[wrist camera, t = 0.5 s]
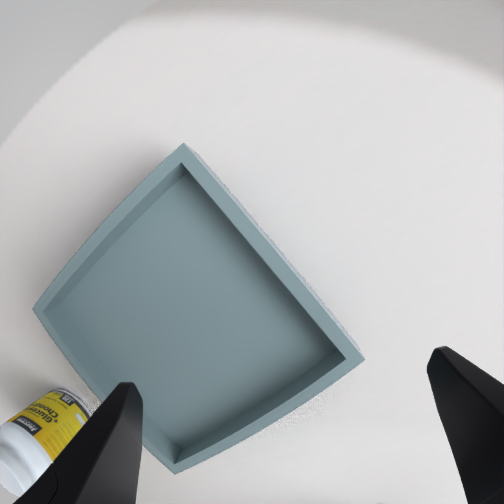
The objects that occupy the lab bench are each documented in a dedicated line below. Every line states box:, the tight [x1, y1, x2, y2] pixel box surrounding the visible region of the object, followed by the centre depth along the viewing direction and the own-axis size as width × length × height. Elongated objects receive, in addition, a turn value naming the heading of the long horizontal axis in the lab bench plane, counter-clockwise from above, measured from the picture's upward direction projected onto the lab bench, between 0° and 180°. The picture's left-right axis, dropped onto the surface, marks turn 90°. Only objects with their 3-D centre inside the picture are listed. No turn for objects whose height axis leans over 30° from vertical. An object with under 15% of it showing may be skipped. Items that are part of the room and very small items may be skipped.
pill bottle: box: [0, 390, 92, 497], centre depth 20 cm, size 6×6×12 cm
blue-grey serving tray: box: [32, 143, 365, 474], centre depth 21 cm, size 16×16×5 cm
